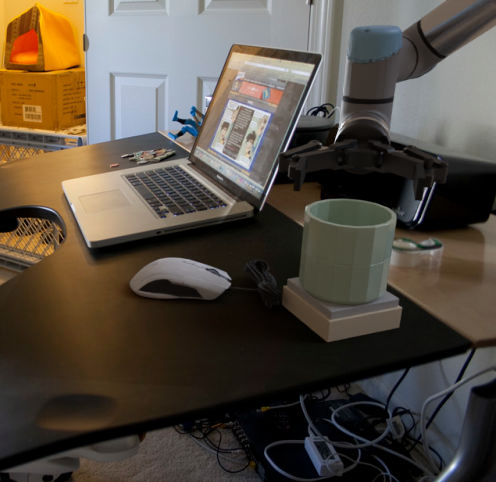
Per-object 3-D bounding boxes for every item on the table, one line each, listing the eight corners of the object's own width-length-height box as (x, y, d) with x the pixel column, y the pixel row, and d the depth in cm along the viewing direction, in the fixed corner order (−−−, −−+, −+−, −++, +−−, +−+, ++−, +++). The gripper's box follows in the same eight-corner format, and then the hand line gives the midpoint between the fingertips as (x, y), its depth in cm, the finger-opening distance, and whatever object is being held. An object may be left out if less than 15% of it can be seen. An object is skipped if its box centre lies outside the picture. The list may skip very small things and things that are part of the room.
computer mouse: (133, 272, 85) (133, 244, 84) (273, 277, 82) (276, 248, 80) (124, 307, 76) (123, 277, 74) (281, 314, 73) (284, 283, 71)
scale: (347, 292, 77) (350, 266, 76) (399, 327, 69) (403, 299, 68) (281, 304, 75) (283, 278, 74) (327, 342, 67) (330, 313, 66)
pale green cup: (385, 277, 73) (396, 202, 70) (384, 313, 65) (396, 231, 62) (303, 266, 76) (310, 195, 73) (294, 300, 69) (300, 222, 65)
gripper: (453, 173, 90) (470, 224, 72) (273, 162, 100) (249, 205, 82) (462, 121, 87) (482, 160, 69) (276, 114, 97) (252, 148, 79)
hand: (356, 185), depth 75 cm, fingers open, 13 cm apart
